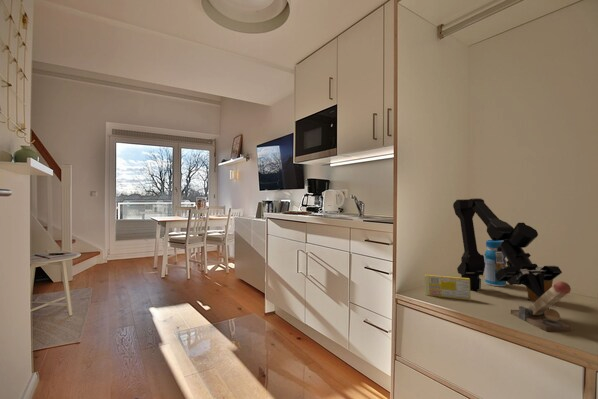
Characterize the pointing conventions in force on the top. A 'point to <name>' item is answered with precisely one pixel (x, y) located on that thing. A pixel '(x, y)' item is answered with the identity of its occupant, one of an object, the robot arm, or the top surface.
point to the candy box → (447, 287)
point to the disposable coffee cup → (547, 286)
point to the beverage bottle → (493, 262)
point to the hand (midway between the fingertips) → (543, 298)
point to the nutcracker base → (542, 319)
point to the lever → (549, 298)
